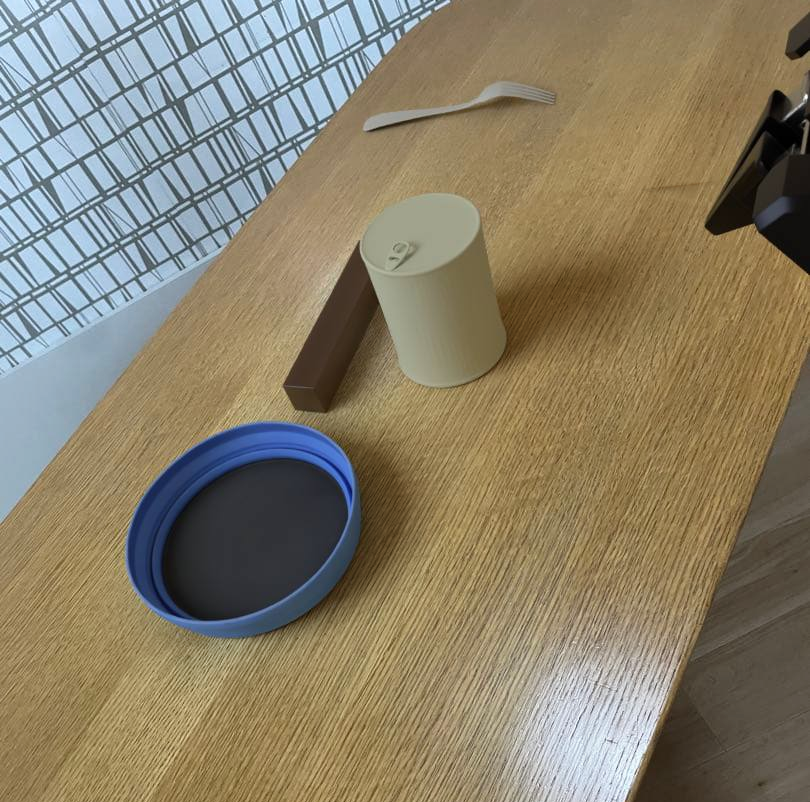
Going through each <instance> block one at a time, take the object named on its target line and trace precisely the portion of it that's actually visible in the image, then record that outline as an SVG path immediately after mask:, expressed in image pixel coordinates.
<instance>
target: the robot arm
mask: <svg viewBox="0 0 810 802" xmlns="http://www.w3.org/2000/svg"><path fill="white" fill-rule="evenodd" d="M809 52H810V11H809V12H807V14H805V16H803V17H802V18H801V19H800V20H799V21H798V22H797V23H796V24H795V25H794V26H793V27H792V28H790V29H789V31H788V36H787V42H786V45H785V51H784V55H785V56H786V57H787V58H788V59H789V60H790V61H791V62H792V61H795V60H800V59H802V58H803V57H804V56H806V54H808V53H809ZM802 78H803V79H802V83H801V84H800V85H798V86H797V87H796V88H795V89H794V90H792V91H791V92H790V93H789V94H788V95H786V94H785V93H784V92H783V91H782V90H780V89H774V90H772V92H771V93H770V94H769V96H768V98H767V102H766V104H765V107H764V108H763V110H762V113H761V114H760V116H759V118H758V120H757V121H756V124H755V126H754V127H753V130H752V132H751V133H750V135H749V137H748V139H747V141H746V143H745V145H744V147H743V149H742V151H741V153H740V154H739V157H738V158H737V160H736V162H735V164H734V166H733V168H732V169H731V171H730V173H729V175H728V176H727V178H726V181H725V182H724V184H723V186H722V188H721V190H720V191H719V194H718V196H717V198H716V199H715V201H714V203H713V205H712V207H711V208H710V210H709V212H708V214H707V215H706V218H705V222H704V228H705V230H706V231H708V232H709V233H710V234H711V235H712V236H716V237H719V236H721V235H724V234H727V233H730V232H732V231H736V230H739V229H742V228H745V227H749V226H751V225H754V226H755V228H756V231H757V233H758V234H760V235H761V236H762V237H763V238H765V239H766V240H767V241H768V242H769V243H770V244H772V245H773V246H774V247H775V248H776V249H777V250H779V251H780V252H781V253H782V254H783V255H784V256H786V257H787V258H788V259H789V260H790V261H791V262H793V263H794V265H797V266H798V267H799V268H800V269H801V270H802V271H803V272H804V273H806V274H807V275H808V276H809V277H810V69H808V70H807V71H806V72H805V73H804V74H803V77H802Z"/></svg>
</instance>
